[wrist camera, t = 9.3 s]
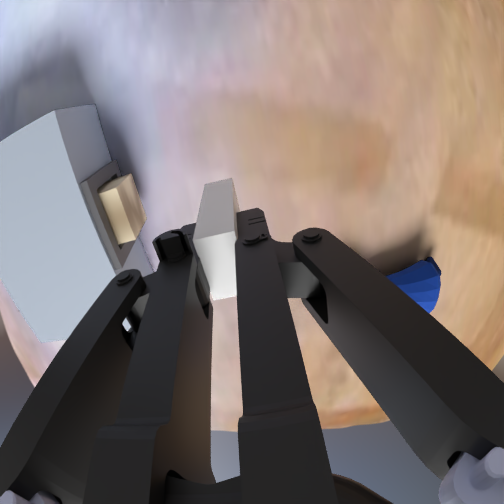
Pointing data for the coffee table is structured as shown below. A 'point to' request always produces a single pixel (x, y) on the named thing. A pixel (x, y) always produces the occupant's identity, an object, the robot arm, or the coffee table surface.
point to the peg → (122, 207)
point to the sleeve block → (59, 221)
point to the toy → (420, 282)
